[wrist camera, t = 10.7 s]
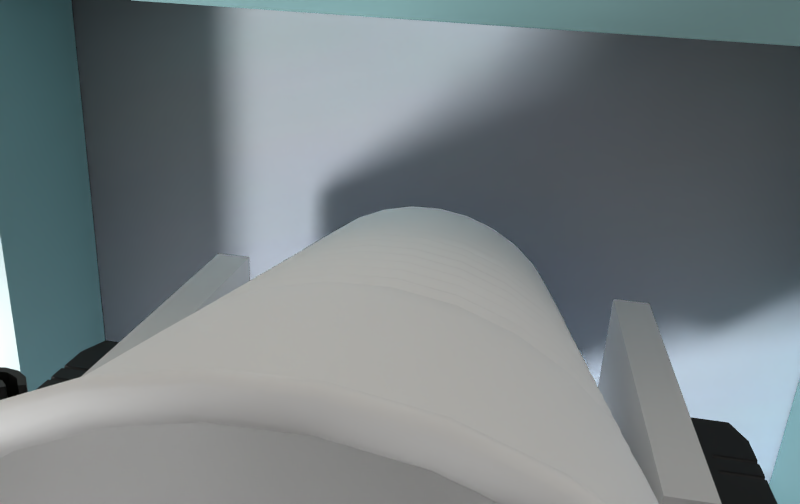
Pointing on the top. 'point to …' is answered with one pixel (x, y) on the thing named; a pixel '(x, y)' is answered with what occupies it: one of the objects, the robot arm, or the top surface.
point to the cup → (340, 389)
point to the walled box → (54, 28)
